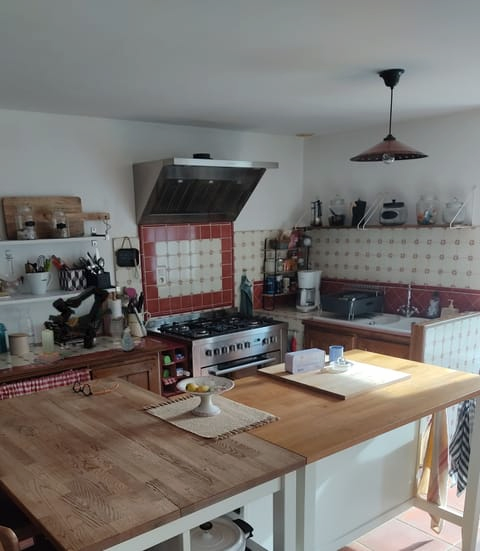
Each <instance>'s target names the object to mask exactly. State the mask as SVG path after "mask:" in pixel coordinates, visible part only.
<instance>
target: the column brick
mask: <svg viewBox="0 0 480 551" xmlns="http://www.w3.org/2000/svg"><path fill="white" fill-rule="evenodd" d="M41 341H42V342H41V343H42V344H41V345H42V353H43V355H51V354H54V352H55V342H54V330H49V329H47V330H46V329H45V330H41Z"/></svg>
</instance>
